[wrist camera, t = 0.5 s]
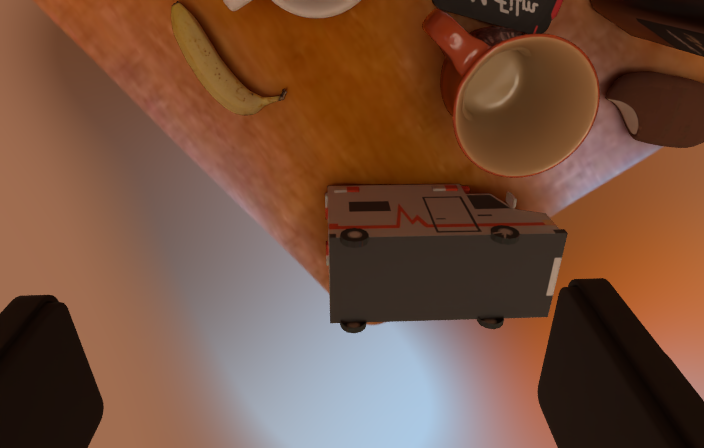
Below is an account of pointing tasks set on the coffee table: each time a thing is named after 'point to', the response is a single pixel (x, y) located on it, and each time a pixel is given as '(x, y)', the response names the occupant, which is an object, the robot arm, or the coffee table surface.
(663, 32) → the wine bottle
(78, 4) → the coffee table surface
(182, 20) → the banana
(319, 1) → the cup
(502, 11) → the black flat block
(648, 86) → the ice cream bar
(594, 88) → the mug
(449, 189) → the toy vehicle
